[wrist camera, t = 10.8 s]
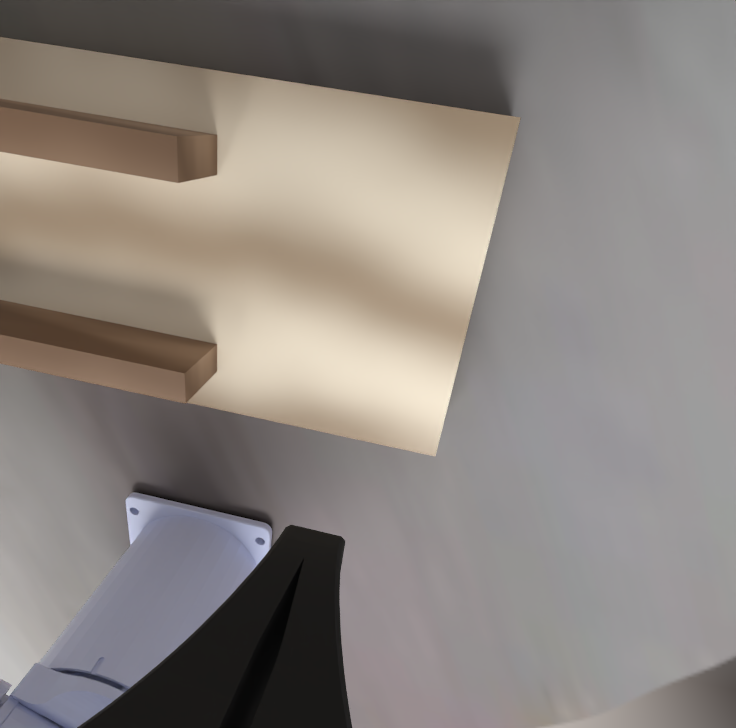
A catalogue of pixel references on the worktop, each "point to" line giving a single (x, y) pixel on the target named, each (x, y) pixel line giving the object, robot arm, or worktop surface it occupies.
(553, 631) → the worktop surface
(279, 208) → the board
